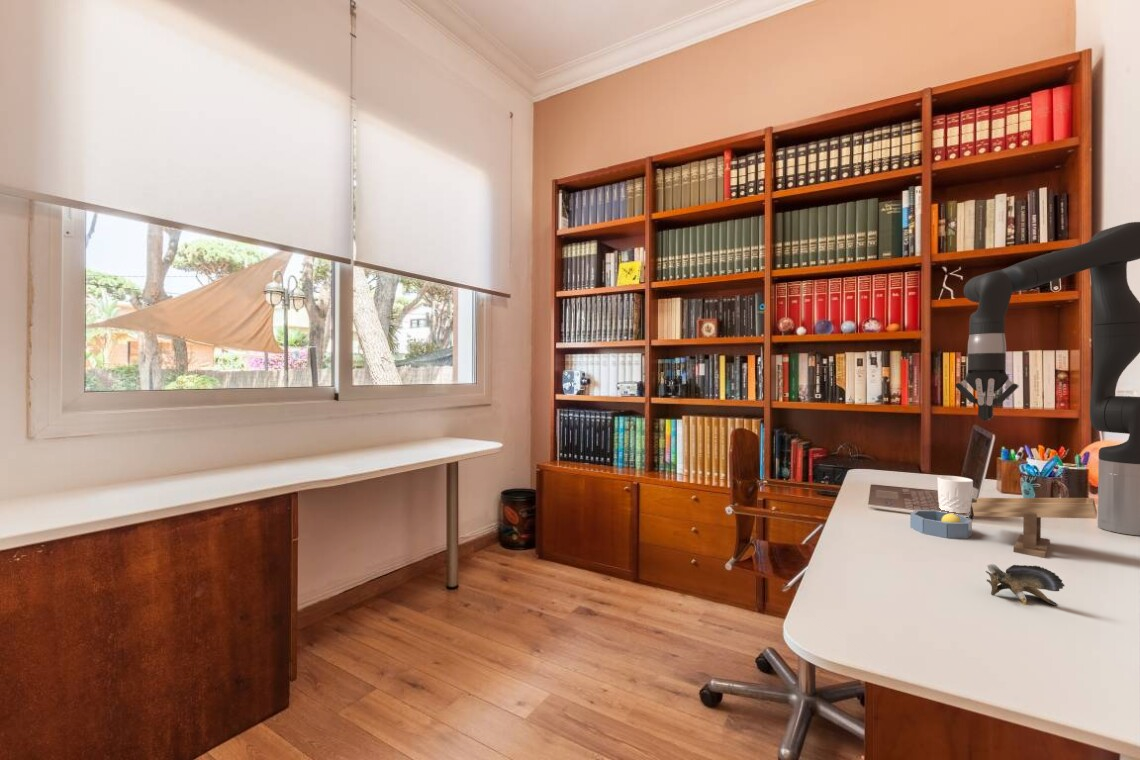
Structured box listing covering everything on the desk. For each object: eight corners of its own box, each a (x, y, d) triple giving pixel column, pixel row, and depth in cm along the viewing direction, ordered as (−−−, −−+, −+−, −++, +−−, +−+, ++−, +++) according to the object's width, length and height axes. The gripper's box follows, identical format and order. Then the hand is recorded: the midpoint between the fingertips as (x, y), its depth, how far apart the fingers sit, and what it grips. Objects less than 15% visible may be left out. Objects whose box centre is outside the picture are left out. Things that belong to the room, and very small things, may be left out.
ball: (944, 521, 127) (959, 513, 125) (953, 535, 124) (969, 527, 122) (934, 517, 126) (949, 508, 124) (943, 530, 123) (959, 522, 121)
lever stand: (1013, 551, 111) (1013, 512, 111) (1020, 538, 120) (1021, 502, 119) (1044, 557, 107) (1045, 517, 107) (1049, 543, 116) (1050, 506, 116)
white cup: (960, 511, 143) (960, 476, 143) (979, 519, 136) (980, 481, 136) (930, 510, 144) (930, 475, 144) (948, 518, 136) (948, 481, 136)
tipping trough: (971, 517, 118) (968, 502, 119) (981, 507, 127) (978, 494, 128) (1096, 519, 104) (1092, 503, 104) (1097, 508, 112) (1094, 493, 113)
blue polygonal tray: (906, 530, 126) (906, 516, 126) (918, 521, 134) (918, 507, 134) (965, 541, 117) (965, 526, 117) (974, 531, 125) (974, 516, 125)
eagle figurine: (1004, 601, 84) (1073, 600, 81) (986, 557, 88) (1051, 554, 85) (993, 610, 90) (1056, 608, 87) (976, 568, 94) (1037, 565, 91)
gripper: (951, 352, 132) (950, 419, 132) (1019, 350, 122) (1018, 423, 122) (957, 353, 137) (956, 417, 137) (1022, 351, 127) (1022, 421, 127)
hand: (985, 420), depth 129 cm, fingers closed
